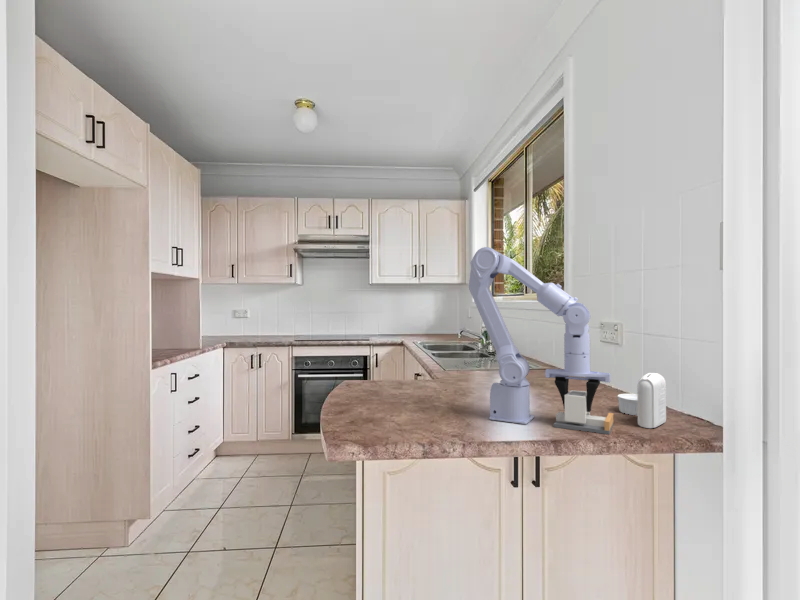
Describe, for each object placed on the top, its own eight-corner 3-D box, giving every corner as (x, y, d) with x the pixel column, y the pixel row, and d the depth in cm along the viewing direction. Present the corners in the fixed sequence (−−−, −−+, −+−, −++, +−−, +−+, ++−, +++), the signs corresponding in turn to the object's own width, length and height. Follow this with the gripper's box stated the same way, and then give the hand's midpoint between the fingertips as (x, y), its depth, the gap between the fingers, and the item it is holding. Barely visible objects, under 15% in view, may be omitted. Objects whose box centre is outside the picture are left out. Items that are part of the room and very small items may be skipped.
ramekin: (642, 408, 124) (642, 393, 124) (662, 416, 115) (662, 400, 115) (611, 409, 124) (611, 393, 124) (628, 417, 115) (628, 400, 115)
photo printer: (649, 418, 113) (649, 369, 113) (668, 421, 110) (668, 371, 110) (634, 426, 106) (634, 374, 106) (654, 430, 103) (654, 376, 103)
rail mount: (553, 427, 105) (553, 415, 106) (561, 418, 113) (561, 407, 113) (609, 434, 99) (609, 421, 99) (613, 424, 107) (613, 413, 107)
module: (564, 420, 105) (564, 394, 105) (570, 414, 112) (570, 389, 112) (585, 423, 103) (584, 396, 103) (590, 416, 110) (589, 391, 110)
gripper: (611, 353, 107) (612, 409, 107) (549, 350, 114) (549, 403, 114) (608, 356, 101) (609, 416, 101) (543, 352, 108) (543, 408, 108)
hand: (577, 409), depth 107 cm, fingers closed on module, 4 cm apart
